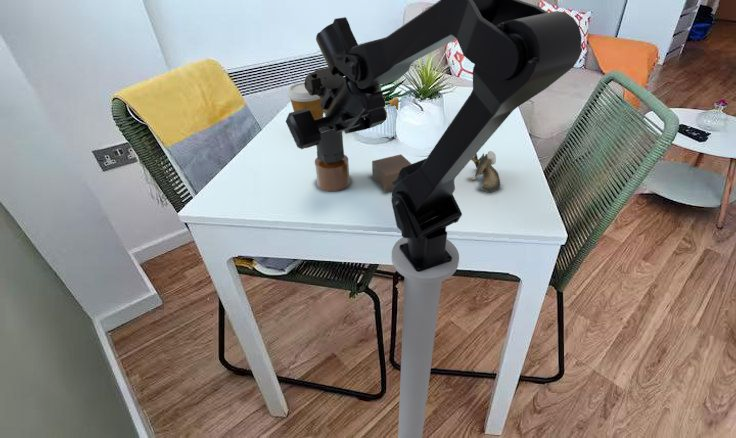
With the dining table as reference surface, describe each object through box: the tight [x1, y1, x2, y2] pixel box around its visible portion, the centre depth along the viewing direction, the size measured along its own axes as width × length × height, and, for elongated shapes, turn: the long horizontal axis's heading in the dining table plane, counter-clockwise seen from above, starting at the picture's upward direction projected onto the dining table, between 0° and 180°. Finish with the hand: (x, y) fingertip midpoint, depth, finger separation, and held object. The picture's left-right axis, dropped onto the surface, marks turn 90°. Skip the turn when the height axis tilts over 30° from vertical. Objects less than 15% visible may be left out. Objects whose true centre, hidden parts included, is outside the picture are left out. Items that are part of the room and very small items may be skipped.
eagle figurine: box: [470, 150, 501, 194], centre depth 79 cm, size 8×7×9 cm
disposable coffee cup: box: [287, 81, 324, 120], centre depth 100 cm, size 10×10×12 cm
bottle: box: [314, 154, 351, 192], centre depth 79 cm, size 7×7×8 cm
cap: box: [315, 116, 345, 163], centre depth 76 cm, size 5×5×8 cm
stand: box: [371, 154, 412, 193], centre depth 80 cm, size 7×7×4 cm
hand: (326, 137), depth 77 cm, fingers open, 9 cm apart
